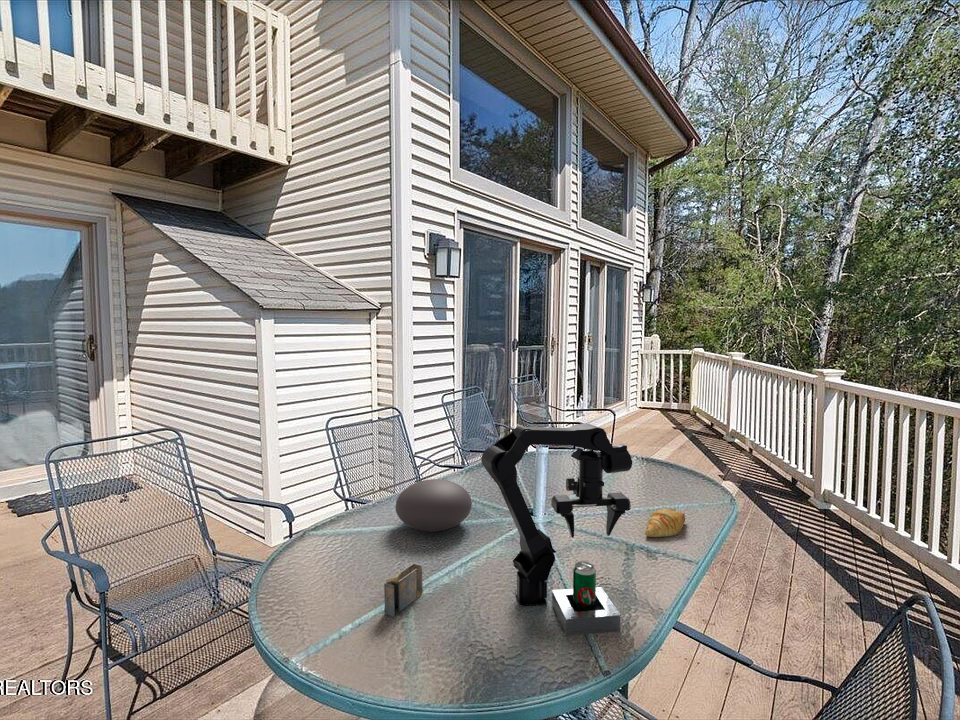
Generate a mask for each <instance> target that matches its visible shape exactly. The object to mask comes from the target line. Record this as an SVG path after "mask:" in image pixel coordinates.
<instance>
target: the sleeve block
mask: <svg viewBox="0 0 960 720" xmlns="http://www.w3.org/2000/svg"><path fill="white" fill-rule="evenodd" d="M551 605H552V607H553V610H554V612H555V614H556V616H557V619H558V620H559V623H560V625H561V627H562V629H563V631H564V634H565V635H567V636H571V635H581V634H582V635H583V634H594V633H595V634H597V633H608V632H621V613H620V612H619V611H618V609H617V608H616V606H615V605H614V603H613V602H612V601H611V599H610V598H609V596H608V594H607V593H606V592H605V590H604V589H603V587H602V586H596V606H595V610H593V611H579V612H574V610H573V588H565V589H551Z"/></svg>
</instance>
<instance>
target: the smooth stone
mask: <svg viewBox="0 0 960 720" xmlns="http://www.w3.org/2000/svg"><path fill="white" fill-rule="evenodd" d="M472 506H473V502H472V498H471V495H470V494H469V492H468V490H466V488H465V487H463V486H462V485H460V484H458V483H456V482H454V481H451V480H448V479H439V478H433V479H423V480H420V481H417V482H415V483H413V484H411V485H410V484H409V486H408V487H406V488H405V489H403V490H402V492H400V494H399V495H398V497H397V499H396V502H395V507H394V508H395V513H396V515H397V518H399V520H400V521H402V522H403V523H404V524H405V525H406V526H408V527H410V528H412V529H413V530H414V529H415V530H418V531H422V532H429V533H430V532H431V533H432V532H441V531H447V530H448V529H451V528H454V527H456V526H458V525H459V524H460V525H461V523H462V522H464V521H465V520H466V519H467V517H468V516H469V515H470V513H471V511H472Z"/></svg>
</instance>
